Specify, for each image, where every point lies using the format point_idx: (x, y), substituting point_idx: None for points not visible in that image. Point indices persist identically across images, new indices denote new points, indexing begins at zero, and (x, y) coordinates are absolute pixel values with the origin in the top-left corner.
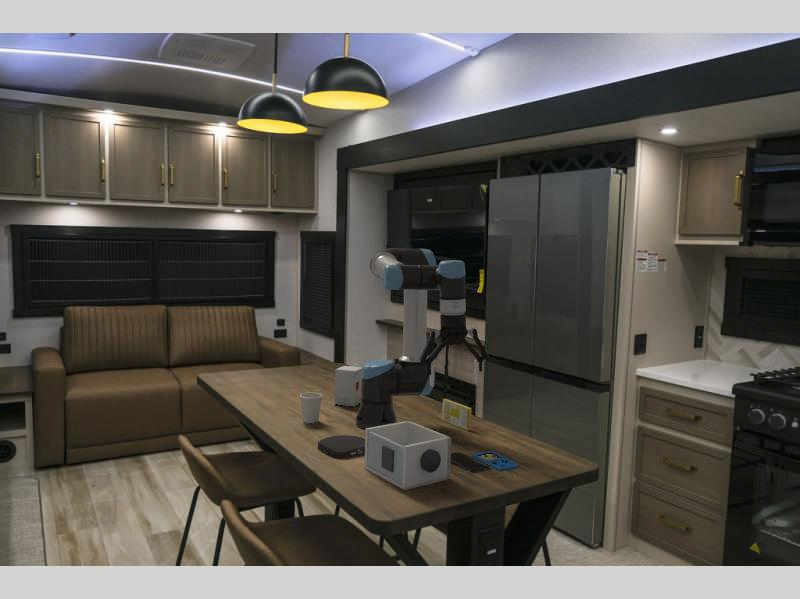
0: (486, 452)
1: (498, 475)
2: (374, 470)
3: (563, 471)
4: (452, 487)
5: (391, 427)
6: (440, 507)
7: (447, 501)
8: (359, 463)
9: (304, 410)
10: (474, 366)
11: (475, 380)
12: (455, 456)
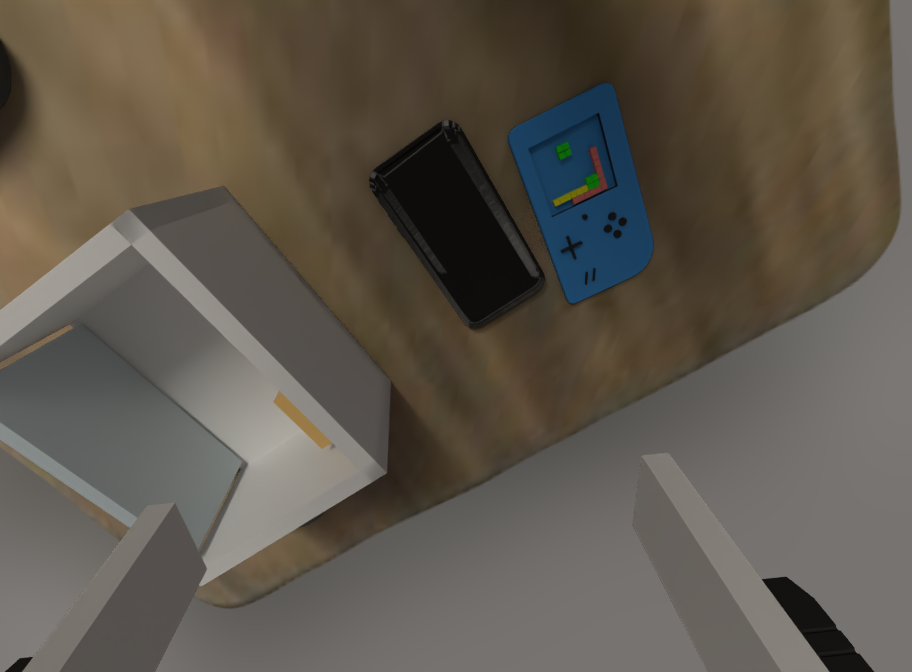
0: (578, 108)
1: (551, 343)
2: None
3: (770, 297)
4: (393, 438)
5: (50, 310)
6: (354, 543)
7: (373, 515)
8: (21, 254)
9: None
10: (751, 642)
11: (647, 504)
12: (432, 174)
